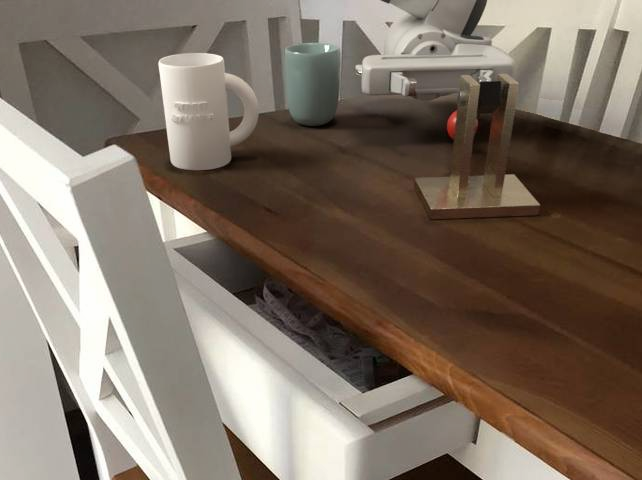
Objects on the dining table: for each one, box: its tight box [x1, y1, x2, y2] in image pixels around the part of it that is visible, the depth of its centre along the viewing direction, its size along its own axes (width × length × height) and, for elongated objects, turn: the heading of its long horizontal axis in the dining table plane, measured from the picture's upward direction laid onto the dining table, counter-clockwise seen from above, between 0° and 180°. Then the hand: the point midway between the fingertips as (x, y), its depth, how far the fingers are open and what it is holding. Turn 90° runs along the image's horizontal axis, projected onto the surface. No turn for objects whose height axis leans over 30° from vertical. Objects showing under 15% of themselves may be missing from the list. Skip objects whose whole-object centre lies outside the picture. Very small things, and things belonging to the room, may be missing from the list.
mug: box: [157, 52, 260, 171], centre depth 93 cm, size 8×12×12 cm
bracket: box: [413, 74, 541, 220], centre depth 80 cm, size 10×12×13 cm
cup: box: [284, 42, 342, 127], centre depth 107 cm, size 8×8×10 cm
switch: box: [446, 81, 501, 141], centre depth 82 cm, size 13×4×4 cm, turn 4°
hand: (448, 88), depth 92 cm, fingers open, 8 cm apart
